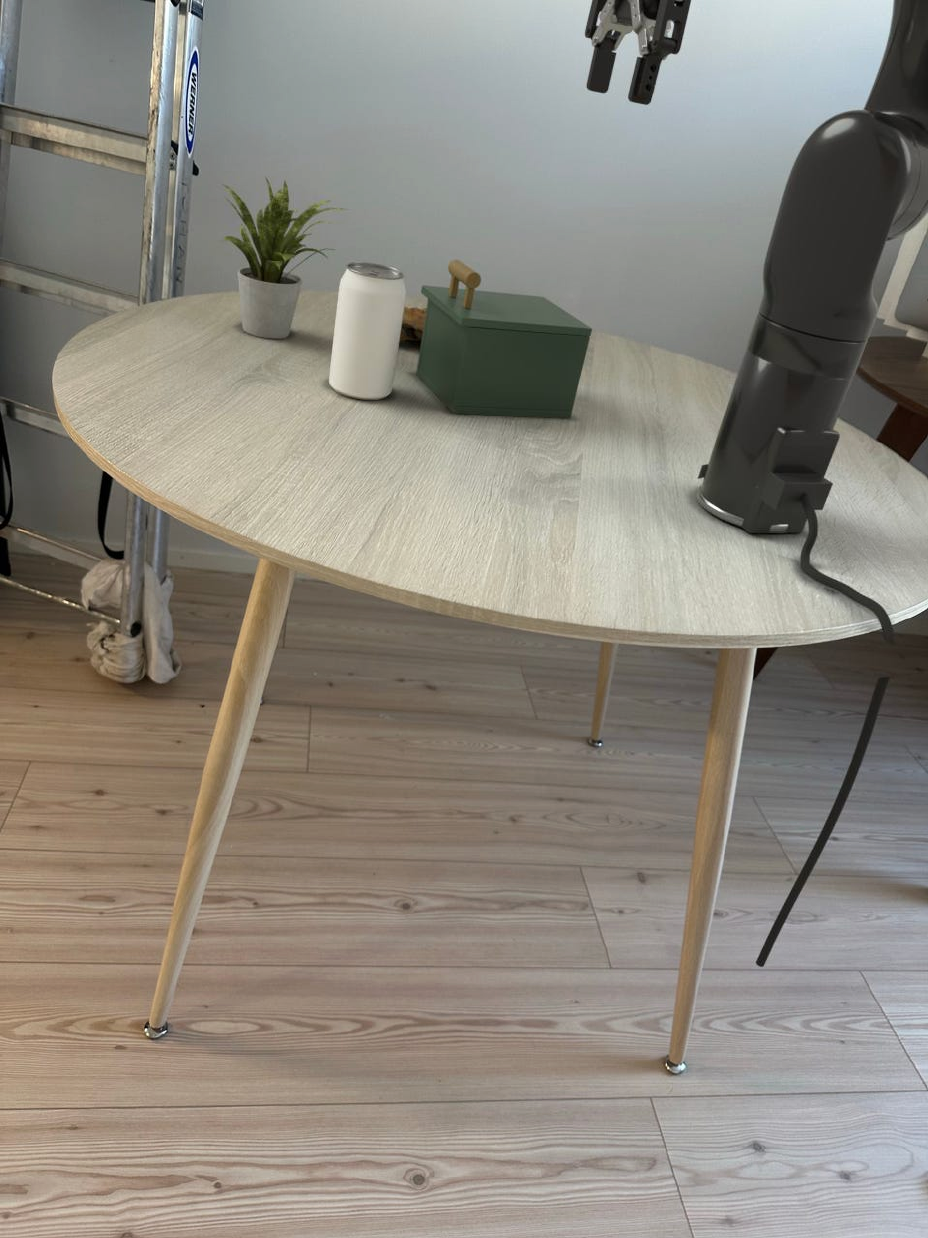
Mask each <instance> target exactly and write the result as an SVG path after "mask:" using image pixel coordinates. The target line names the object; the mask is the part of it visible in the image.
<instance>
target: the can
mask: <svg viewBox="0 0 928 1238" xmlns="http://www.w3.org/2000/svg"><path fill="white" fill-rule="evenodd" d="M345 267H346V270H345V272H344V273H343V275H342V277H341V279H340V282H339V287H338V295H337V305H336V313H335V322H334V332H333V340H332V348H331V358H330V365H329V367H330V368H329V376H328V377H329V378H328V383H329V386H331V388H332V390H333V391H334V392H336V393H337V394H339V395H342V396H344V397H347V398H351V399H356V400H362V401H379V400H380V401H381V400H383V399H386V398H387V397H388V396H389V395H391V394H392V391H393V386H394V379H395V374H396V366H397V360H398V353H399V346H400V341H399V340H400V333H401V326H402V319H403V312H404V307H405V304H406V296H407V290H406V286H405V283H404V277H405V274H404V272H402V271H401V270H399V269H397V268H395V267H391V266H388V265H384V264H380V263H374V262H366V261H352V262H348V263H346V265H345Z"/></svg>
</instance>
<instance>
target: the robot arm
mask: <svg viewBox="0 0 928 1238" xmlns="http://www.w3.org/2000/svg"><path fill="white" fill-rule="evenodd" d="M691 3H692V0H591V5H590V8H589V12H588V15H587V16H588V17H587V21H586V26H585V29H584V37H585V38H586V39H590V41H591V46H592V47H593V53H592V57H591V62H590V67H589V72H588V75H587V80H586V89H587V90H588V91H590V92H595V93H600V94H606V93H608V92H609V88H610V83H611V80H612V75H613V71H614V66H615V62H616V58H617V52H616V51H617V50H618V48H619V46H620V45H621V42H622V41H623V39H624V38H625V37H626V35H628V34H631V33H632V32H634V33H635V34H636V35H637V41H638V53H639V56H637V57H636V61H635V64H634V70H633V73H632V77H631V82H630V86H629V90H628V94H627V99H628V101H629V103H634V104H639V105H644V106H649V105H650V104H651V102H652V99H653V96H654V93H655V90H656V85H657V80H658V77H659V73H660V69H661V64H662V62H663V61H665V60H666V59H667V58H668V56H669V55H678V54H679V52H680V51H681V49H682V43H683V39H684V35H685V30H686V25H687V22H688V18H689V17H688V16H689V13H690V8H691ZM598 21H600V22H599V24H598ZM671 22H672V23H673V28H672V23H671ZM597 24H598V25H597ZM671 30H672V32H671V37H670V36H668V33H669V32H670V31H671ZM613 31H614V32H613ZM651 37H652V38H651ZM927 215H928V0H893V1H892V14H891V20H890V27H889V33H888V36H887V41H886V45H885V49H884V52H883V56H882V59H881V62H880V65H879V68H878V71H877V73H876V75H875V78H874V82H873V84H872V87H871V89H870V92H869V94H868V97H867V99H866V102H865V104H864V107H863V109H851V110H847V111H843V112H840V113H837V114H835V115H833V116H831V117H830V118H828V119H826V120H825V121H824V122H822V123H821V124H820V125H818V126H817V127H816V129H814V130H813V131H812V132H811V134H810V135H809V136H808V137H807V139H806V140H805V142H804V143H803V145H802V146H801V148H800V150H799V151H798V154H797V156H796V157H795V160H794V162H793V164H792V167H791V169H790V172H789V175H788V178H787V181H786V183H785V187H784V190H783V193H782V197H781V201H780V204H779V207H778V211H777V215H776V218H775V221H774V225H773V229H772V232H771V236H770V239H769V243H768V247H767V250H766V254H765V257H764V258H765V259H764V261H763V269H762V286H763V287H762V288H763V289H762V290H763V292H762V298H761V301H760V305H759V308H758V312H757V314H756V317H755V319H754V323H753V327H752V330H751V332H750V334H749V339H748V342H747V344H746V347H745V350H744V353H743V355H742V360H741V362H740V366H739V368H738V372H737V374H736V377H735V381H734V384H733V388H732V390H731V393H730V396H729V399H728V401H727V404H726V407H725V410H724V413H723V417H722V420H721V423H720V426H719V430H718V432H717V436H716V438H715V442H714V445H713V447H712V451H711V453H710V457H709V461H708V463H707V464H706V463H705V464H701V467H700V469H699V474H698V476H697V479H699V480H700V479H702V481H701V484H700V486H699V487H698V490H697V494H696V500H697V502H698V503H699V505H700V506H701V507H702V508H704V510H706V511H707V512H709V513H710V514H712V515H713V516H715V517H717V518H718V519H720V520H722V521H724V522H727V523H730V524H732V525H734V526H737V527H740V528H742V529H743V530H744V531H746V532H747V533H750V534H776V533H777V534H782V533H784V534H785V533H787V534H788V533H803V532H804V529H805V527H806V524H807V523H808V525H807V526H808V531H807V536H806V540H805V541H804V543H803V546H802V548H801V551H800V558H799V559H800V561H799V565H800V569H801V570H802V571H803V572H804V573H805V574H806V575H807V576H808V577H809V578H810V579H812V580H814V581H815V582H817V583H819V584H821V585H823V586H825V587H828V588H830V589H832V590H834V591H837V592H839V593H840V594H842V595H844V596H845V597H847V598H849V599H850V600H852V601H853V602H855V603H857V604H859V605H860V606H862V607H864V608H866V609H867V610H869V611H871V612H872V614H874V615H875V617H877V620H878V622H879V624H880V628H881V630H882V631H881V632H882V635H883V640H884V641H885V642H886V643H887V644H889V645H893V646H895V645H896V636H895V635H896V634H895V631H894V626H893V623H892V620H891V618H890V616H889V614H888V613H887V611H886V609H885V608H884V607H883V606H882V605H881V604H880V603H879V602H877V601H876V600H874V599H872V598H871V597H868V596H867V595H865V594H863V593H861V592H859V591H858V590H856V589H854V588H853V587H851V586H850V585H848V584H846V583H844V582H842V581H841V580H838V579H835V578H834V577H831V576H828V575H826V574H824V573H823V572H821V571H819V570H818V569H817V568H816V567H814V566H813V565H812V564H811V562H810V561H811V553H812V550H813V548H814V545H815V543H816V540H817V538H818V532H819V522H818V517H817V516H818V515H817V513H816V511H823V510H824V507H825V505H826V502H827V500H828V497H829V495H830V492H831V490H832V487H833V484H834V483H833V482H832V481H830V480H829V479H827V478H825V476H826V474H827V471H828V468H829V466H830V463H831V461H832V458H833V456H834V453H835V451H836V449H837V446H838V443H839V440H840V438H841V435H840V432H839V431H837V430H836V429H835V426H836V423H837V421H838V418H839V416H840V413H841V410H842V408H843V405H844V403H845V400H846V397H847V396H848V392H849V390H850V387H851V384H852V383H853V379H854V377H855V375H856V372H857V370H858V367H859V364H860V362H861V359H862V357H863V354H864V351H865V350H866V349H865V348H866V346H867V344H868V340H869V338H870V336H871V333H872V331H873V328H874V326H875V323H876V321H877V317H878V314H879V305H878V302H877V300H876V299H875V297H874V290H873V289H874V280H875V277H876V273H877V269H878V266H879V264H880V260H881V258H882V255H883V252H884V249H885V246H886V244H887V242H889V241H893V240H895V239H897V238H900V237H902V236H903V235H906V234H907V233H909V232H910V231H912V230H913V229H914V228H915V227H917V226H918V225H919V224H920V223H921V222H922V220H923V219H924V218H925V217H926V216H927ZM890 679H891V676H882V677H878V678H877V681H876V684H875V687H874V690H873V692H872V696H871V698H870V702H869V706H868V709H867V712H866V715H865V719H864V722H863V726H862V728H861V731H860V734H859V737H858V741H857V742H856V743H857V744H856V746H855V749H854V752H853V755H852V758H851V761H850V764H849V765H848V768H847V771H846V774H845V776H844V779H843V781H842V784H841V787H840V788H839V791H838V794H837V796H836V798H835V801H834V803H833V805H832V807H831V810H830V812H829V814H828V816H827V818H826V820H825V821H824V822H825V823H824V824H823V827H822V829H821V831H820V833H819V835H818V836H817V839H816V841H815V843H814V845H813V847H812V849H811V851H810V853H809V855H808V856H807V859H806V861H805V862H804V864H803V866H802V868H801V870H800V872H799V873H798V876H797V878H796V880H795V881H794V883H793V886H792V888H791V890H790V891H789V893H788V895H787V897H786V899H785V900H784V903H783V904H782V906H781V908H780V911H779V912H778V915H777V916H776V918H775V920H774V922H773V924H772V927H771V928H770V931H769V932H768V935H767V937H766V939H765V941H764V943H763V946H762V947H761V950H760V952H759V954H758V956H757V959H756V961H755V965H756V966H758V967H760V968H763V967H765V964H766V962H767V961H768V958H769V956H770V953H771V952H772V949H773V947H774V945H775V943H776V941H777V939H778V937H779V935H780V933H781V931H782V929H783V927H784V925H785V923H786V921H787V919H788V917H789V915H790V914H791V912H792V909H793V907H794V905H795V904H796V902H797V900H798V899H799V896H800V894H801V892H802V890H803V889H804V887H805V884H806V883H807V881H808V879H809V878H810V875H811V874H812V871H813V870H814V868H815V866H816V864H817V862H818V860H819V859H820V857H821V855H822V853H823V851H824V849H825V847H826V845H827V843H828V841H829V839H830V837H831V835H832V833H833V831H834V828H835V826H836V824H837V823H838V820H839V818H840V816H841V814H842V812H843V809H844V807H845V806H846V803H847V800H848V798H849V795H850V793H851V792H852V789H853V787H854V785H855V782H856V779H857V775H858V773H859V771H860V768H861V765H862V763H863V761H864V759H865V755H866V752H867V749H868V747H869V743H870V741H871V737H872V734H873V732H874V728H875V725H876V722H877V719H878V716H879V713H880V710H881V706H882V702H883V699H884V696H885V693H886V690H887V688H888V684H889V682H890Z"/></svg>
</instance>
